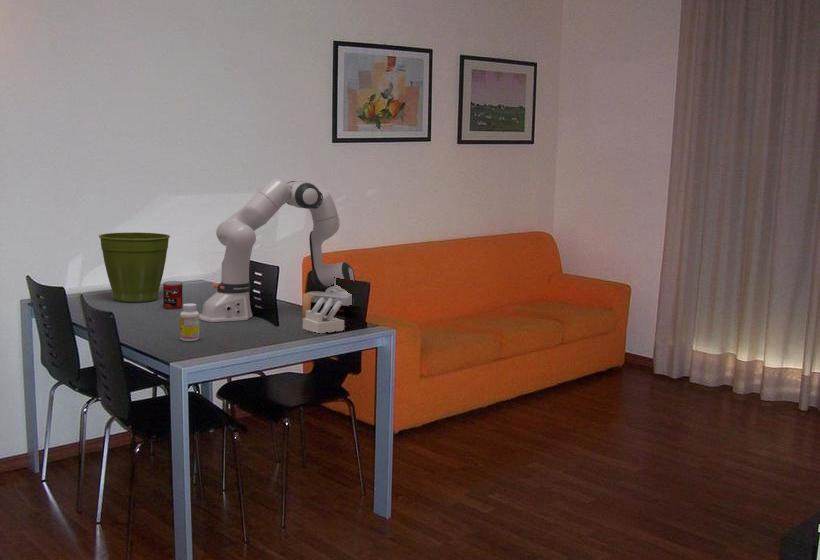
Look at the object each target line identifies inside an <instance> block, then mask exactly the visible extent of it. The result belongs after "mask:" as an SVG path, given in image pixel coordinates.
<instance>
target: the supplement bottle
mask: <svg viewBox="0 0 820 560" xmlns="http://www.w3.org/2000/svg"><path fill="white" fill-rule="evenodd" d="M182 309H183V311H181V312H180V314H179V338H180V340H181V341H182V342H194V341H199V339H200V319H199V314H200V313H199V311H198V310H197V304H196V303H191V302H190V303H184V304H183V303H182Z"/></svg>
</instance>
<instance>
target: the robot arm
mask: <svg viewBox="0 0 820 560" xmlns="http://www.w3.org/2000/svg"><path fill="white" fill-rule="evenodd" d="M285 204H287V205H290V206H292V207H295V208H298V209H306V210H307V209H308V210H309V213H310V215H311V220H312V222H313V225H312V226H313V227H312V230H311V231H310V232H309V252H310V261H311V262H310V263H311V280H312V283H313V284H314V285H315V286H316V287H318V288H319V289H323V288H326V289H325V291H314V290H313V291H309V292H306V293H309V294H311V303H317V302H318V300H319V299H320V298H321V297H322V298H324V299H325V301H324V303H323V304H326V302H327V301H328V299H329V298H332V299H333V300H334V301H333V302H332V303H333V305H332V306H331V307H332V308H333V306H334V305H335V303H336V302H338V300H340V301H341V302H342V303H343V304H342V305H341V306H340V307H343V306H344V307H345V306H346V307H350V306H349V305H352V294H350V293H348V292H347V291H346V290H345V289H342V288H341V287H340V286H338V285H336V278H340V279H346V280H353V281H355V280H356V278H355V277H356V276H355V271H354V269H353V267H352V266H351V264H349V263H347V262H346V261H345V262H343V261H342V262H336V263H330V264H329V263H327V264H324V261H323V249H322V244H323V243H324V242H325V241H327V240H329V239H330V238H332V237H333V236H335V234H337V232H338V231H339V229H340V219H339V214H338V210H337V207H336V204H335V202H334V200H333V197H332V195H331V194H330V193H328V192H327V191H324V190H323V191H322V190H321V191H320V190H319V189H318V188H317V186H316V185H314V184H313V183H310V182H306V181H302V180H301V181H300V180H299V181H298V180H291V181H289V182H287V181H286V180H284V179H283V178H280V177H278V178H273V179H272V180H270V181H269V182H268V183H267V184H265V185H264V186H263V187H262V188H261V189H260V190H259V191H257V192H256V194H255V195H253V197H252V198H251V199H249V201H248V202H247V203H246V204H245V205H244V206H242V207H241V208H240V209H239V210H237V211H236V212H235V213H234V214H232V215H231V216H230V217H228V218H227V219H226V220H225V221H222V222H221V223H220V224H218V226H217V228H216V232H215V233H216V234H215V236H216V238H217V240H218V241H219V243H220V244H221V245H223V246H225V250H224V251H225V252H224V257H223V260H222V261H221V281H220V283H217V282H214V283H213V284H212V288H213V289H217V290H216V292H215V293H214V294H212V296H210V297H209V298H207V300H205V301H204V303H203V305H202V312H201V313H199V321H200V320H201V321H204V322H209V323H210V322H211V323H217V322H218V323H219V322H233V321H235V322H237V321H248V320H249V319H250V318H252V317H253V312H252V308H251V301H250V293H251V283H250V262H251V255H252V252H253V247H254V245H255V243H256V240H257V236H256V233H255V232H256V231H257V230H258V229H259V228H261V227H262V226H264V225H266V224H267V223H268V221H270V220H271V218H273V217H274V215H275V214H276V213H278V211H279V210H280V209H281V208H282V207H283V206H284V205H285ZM334 277H335V278H334ZM355 282H356V281H355ZM333 284H334V286H331V285H333ZM328 286H329V287H328ZM352 306H353V305H352ZM331 307H330V308H331Z"/></svg>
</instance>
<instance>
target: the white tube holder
mask: <svg viewBox="0 0 820 560" xmlns="http://www.w3.org/2000/svg"><path fill="white" fill-rule="evenodd" d="M324 301H325V299H324V298H322V297H321V298H320V299H319V300H318V302H315V304H314V306H313V307H312V309H311V311H310V310H307V311H306V318H303V324H302V329H303V330H306V331H309V332H312V333H314V332H316V333H315V334H317V333H320V334H326V332H328V333H333V332H335V331H336V332H343V330H344V331H345V320H344V319H341V318H338V317H335V315H336V314H337V312H338V311H339V309H340V308H341V307H342V306H341V305H342V304H343V303H342V302H341V301H340V300H338V302H336V303H335V305H334V306H333V307H332V308H331V306H332V305H333V303H332V302H333V301H334V300H333V299H332V298H329V299H328V301H327V302H326V303H324ZM322 305H323V307H322ZM320 309H321V310H320ZM328 312H329V313H328ZM327 313H328V314H327Z"/></svg>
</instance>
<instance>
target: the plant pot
mask: <svg viewBox="0 0 820 560" xmlns="http://www.w3.org/2000/svg"><path fill="white" fill-rule="evenodd" d="M98 238H100V247H101V251H102V257H103V262H104V265H105V269H106V270H105V271H106V274H107V278H108V281H109V285H110V287H111V292H112V299H113V300H114V301H117V302H125V303H143V302H144V303H145V302H151V301H155V300H157V299H158V298H159V289H160V287H161V283H162V279H163V275H164V271H165V266H166V261H167V254H168V253H167V252H168V249H169V240H170V238H171V235H169V234H165V233H156V232H135V231H134V232H109V233H102V234H99V235H98Z"/></svg>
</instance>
